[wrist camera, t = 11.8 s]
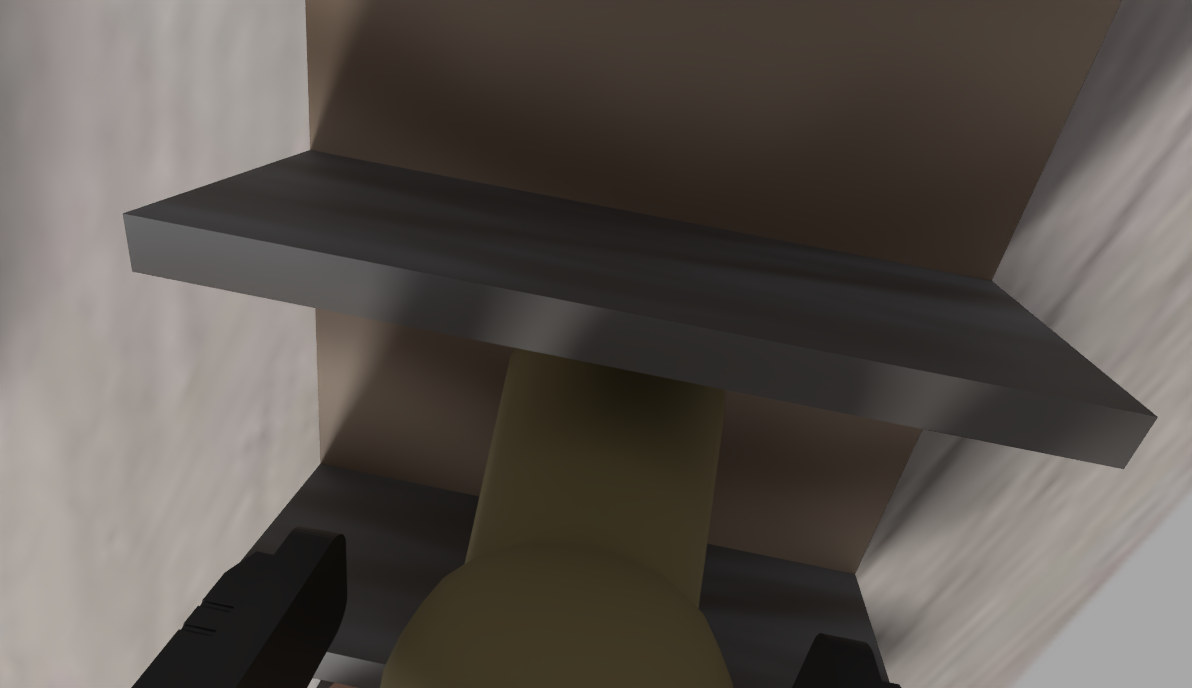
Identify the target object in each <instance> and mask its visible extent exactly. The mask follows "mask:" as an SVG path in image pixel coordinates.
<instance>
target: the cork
mask: <svg viewBox="0 0 1192 688" xmlns="http://www.w3.org/2000/svg"><path fill="white" fill-rule="evenodd" d="M724 414H725V390H724V389H719V388H714V387H709V386H704V385H699V384H694V383H689V382H684V381H679V380H674V379H669V378H664V377H659V376H654V375H649V374H644V373H639V372H634V371H629V370H624V369H619V368H614V367H609V366H604V365H599V364H594V363H589V362H584V361H579V360H574V359H569V358H564V357H559V356H554V355H549V354H544V353H539V352H534V351H529V350H524V349H519V348H515V349H514V350H513V352H512V354H511V355H510V360H509V364H508V369H507V374H506V378H505V383H504V387H503V392H502V396H501V401H500V405H499V410H498V415H497V419H496V424H495V428H494V433H493V437H492V442H491V446H490V451H489V455H488V460H487V465H486V469H485V474H484V478H483V483H482V487H481V492H480V496H479V501H478V506H477V510H476V515H475V519H474V524H473V528H472V533H471V537H470V542H469V546H468V551H467V556H466V560H465V564H464V565H462V566H461V567H459V568H458V569H456V570H455V571H453V572H451V573H450V574H448V575H447V576H445V577H444V578H443V579H442V580H441V581H440V582H439V583H438V585H437V586H436V587H435V588H434V589H433V591H432V592H431V593H430V594H429V595H428V596H427V598H426V599H425V600H424V601H423V602H422V604H421V605H420V606H419V608H418V609H417V611H416V612H415V614H414V615H413V617H412V618H411V619H410V621H409V622H408V624H407V625H406V627H405V628H404V630H403V631H402V633H401V634H400V636H399V638H398V640H397V642H396V644H395V646H394V648H393V650H392V652H391V655H390V657H389V659H388V661H387V663H386V665H385V667H384V669H383V675H382V680H381V686H380V688H733V682H732V680H731V677H730V674H729V672H728V669H727V666H726V664H725V661H724V658H723V655H722V653H721V650H720V648H719V646H718V643H717V641H716V639H715V637H714V635H713V633H712V631H711V629H710V626H709V624H708V622H707V620H706V618H705V616H704V614H703V613H702V612H701V611H700V610H699V609H698V608H699V601H700V593H701V586H702V578H703V571H704V564H705V556H706V549H707V541H708V534H709V526H710V519H711V511H712V504H713V496H714V489H715V481H716V474H717V466H718V459H719V451H720V444H721V436H722V429H723V421H724Z"/></svg>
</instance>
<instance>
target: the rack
mask: <svg viewBox="0 0 1192 688" xmlns="http://www.w3.org/2000/svg"><path fill="white" fill-rule="evenodd" d="M1121 1H1122V0H305V3H306V33H307V64H308V94H309V125H310V150H309V151H306V152H303V153H300V154H297V155H294V156H291V157H288V158H285V159H282V160H279V161H276V162H274V163H271V164H268V165H265V166H262V167H259V168H256V169H253V170H250V171H247V172H244V173H241V174H238V175H235V176H232V177H229V178H226V179H223V180H220V181H217V182H214V183H212V184H209V185H206V186H203V187H200V188H197V189H194V190H191V191H188V192H185V193H182V194H179V195H176V196H173V197H170V198H167V199H164V200H161V201H158V202H155V203H152V204H150V205H147V206H144V207H141V208H138V209H135V210H132V211H129V212H126V213H123V218H124V224H125V230H126V236H127V242H128V248H129V254H130V260H131V266H132V272H137V273H142V274H147V275H152V276H157V277H162V278H167V279H173V280H178V281H183V282H188V283H193V284H198V285H203V286H208V287H213V288H218V289H223V290H228V291H233V292H238V293H243V294H248V295H253V296H258V297H263V298H268V299H273V300H278V301H283V302H288V303H293V304H298V305H303V306H308V307H313V308H316V339H317V369H318V400H319V430H320V461H321V464H320V465H319V466H318V467H317V469H316V470H315V471H314V472H313V474H312V475H311V476H310V477H309V478H308V480H307V481H306V482H305V483H304V485H303V486H302V487H301V488H300V489H299V491H298V492H297V493H296V494H295V496H294V497H293V498H292V499H291V500H290V502H289V503H288V504H287V505H286V507H285V508H284V509H283V510H282V511H281V513H280V514H279V515H278V516H277V518H276V519H275V520H274V521H273V523H272V524H271V525H270V526H269V527H268V529H267V530H266V531H265V532H264V534H263V535H262V536H261V537H260V538H259V540H258V541H257V542H256V543H255V545H254V546H253V547H252V548H251V549H250V551H249V552H248V553H247V554H246V556H245V557H244V558H243V559H242V560H241V561H243V560H244V559H246V558H247V557H249V556H250V555H252V554H253V553H255V552H256V551H258V552H263V553H268V554H273V555H274V554H275V552H276V551H277V549H278V548H279V547H280V545H281V544H282V543H283V541H284V540H285V539H286V537H287V536H288V535H289V534H290V532H291V531H292V530H293V529H294V528H296V527H297V526H305V527H310V528H315V529H320V530H325V531H330V532H335V533H340V534H343V535H344V536H345V539H346V561H347V604H346V609H345V613H344V616H343V619H342V622H341V625H340V628H339V630H338V632H337V634H336V636H335V638H334V640H333V642H332V643H331V645H330V647H329V649H328V651H327V652H326V654H325V656H324V658H323V660H322V661H321V663H320V665H319V667H318V669H317V671H316V672H315V674H314V676H313V678H315V679H320V680H321V681H320V683H319V684H318V686H317V688H380V686H381V680H382V675H383V669H384V667H385V665H386V663H387V661H388V659H389V657H390V655H391V652H392V650H393V648H394V646H395V644H396V642H397V640H398V638H399V636H400V634H401V633H402V631H403V630H404V628H405V627H406V625H407V624H408V622H409V621H410V619H411V618H412V617H413V615H414V614H415V612H416V611H417V609H418V608H419V606H420V605H421V604H422V602H423V601H424V600H425V599H426V598H427V596H428V595H429V594H430V593H431V592H432V591H433V589H434V588H435V587H436V586H437V585H438V583H439V582H440V581H441V580H442V579H443V578H444V577H445V576H447V575H448V574H450V573H451V572H453V571H455V570H456V569H458V568H459V567H461V566H462V565H464V564H465V560H466V556H467V551H468V546H469V542H470V537H471V533H472V528H473V524H474V519H475V515H476V510H477V506H478V501H479V496H480V492H481V487H482V483H483V478H484V474H485V469H486V465H487V460H488V455H489V451H490V446H491V442H492V437H493V433H494V428H495V424H496V419H497V415H498V410H499V405H500V401H501V396H502V392H503V387H504V383H505V378H506V374H507V369H508V364H509V360H510V355H511V354H512V352H513V350H514V349H515V348H519V349H524V350H529V351H534V352H539V353H544V354H549V355H554V356H559V357H564V358H569V359H574V360H579V361H584V362H589V363H594V364H599V365H604V366H609V367H614V368H619V369H624V370H629V371H634V372H639V373H644V374H649V375H654V376H659V377H664V378H669V379H674V380H679V381H684V382H689V383H694V384H699V385H704V386H709V387H714V388H719V389H724V390H725V414H724V421H723V429H722V436H721V444H720V451H719V459H718V466H717V474H716V481H715V489H714V496H713V504H712V511H711V519H710V526H709V534H708V541H707V549H706V556H705V564H704V571H703V578H702V586H701V593H700V601H699V608H698V609H699V610H700V611H701V612H702V613H703V614H704V616H705V618H706V620H707V622H708V624H709V626H710V629H711V631H712V633H713V635H714V637H715V639H716V641H717V643H718V646H719V648H720V650H721V653H722V655H723V658H724V661H725V664H726V666H727V669H728V672H729V674H730V677H731V680H732V682H733V688H792V686H793V684H794V682H795V680H796V678H797V676H798V673H799V671H800V669H801V667H802V665H803V662H804V660H805V658H806V656H807V654H808V652H809V649H810V647H811V645H812V643H813V641H814V639H815V637H816V636H817V635H818V634H819V633H824V634H828V635H833V636H838V637H843V638H848V639H853V640H858V641H863V642H866V643H868V644H869V646H870V647H871V649H872V651H873V654H874V657H875V660H876V663H877V667H878V670H879V673H880V676H881V680H882V681H884V682H889V679H888V676H887V673H886V670H885V667H884V663H883V660H882V657H881V654H880V651H879V648H878V645H877V641H876V638H875V635H874V632H873V629H872V626H871V623H870V620H869V616H868V613H867V610H866V607H865V604H864V601H863V598H862V595H861V591H860V588H859V585H858V582H857V579H856V576H855V573H856V571H857V569H858V567H859V564H860V562H861V560H862V558H863V556H864V554H865V552H866V549H867V547H868V545H869V543H870V541H871V539H872V536H873V534H874V532H875V530H876V528H877V526H878V524H879V521H880V519H881V517H882V515H883V513H884V511H885V509H886V506H887V504H888V502H889V500H890V498H891V496H892V493H893V491H894V489H895V487H896V485H897V483H898V481H899V478H900V476H901V474H902V472H903V470H904V468H905V466H906V463H907V461H908V459H909V457H910V455H911V453H912V450H913V448H914V446H915V444H916V442H917V440H918V438H919V435H920V433H921V431H922V429H925V430H930V431H935V432H940V433H945V434H950V435H955V436H960V437H965V438H970V439H975V440H980V441H985V442H990V443H995V444H1000V445H1005V446H1010V447H1015V448H1020V449H1025V450H1030V451H1035V452H1041V453H1046V454H1051V455H1056V456H1061V457H1066V458H1071V459H1076V460H1081V461H1086V462H1091V463H1096V464H1101V465H1106V466H1111V467H1116V468H1121V469H1124V468H1125V466H1126V465H1127V463H1128V462H1129V460H1130V459H1131V457H1132V456H1133V454H1134V453H1135V451H1136V450H1137V448H1138V447H1139V445H1140V444H1141V442H1142V440H1143V439H1144V437H1145V436H1146V434H1147V433H1148V431H1149V430H1150V428H1151V427H1152V425H1153V424H1154V422H1155V421H1156V419H1157V416H1156V415H1155V414H1153V413H1152V412H1151V411H1150V410H1149V409H1147V408H1146V407H1145V406H1144V405H1142V404H1141V403H1140V402H1139V401H1138V400H1136V399H1135V398H1134V397H1133V396H1131V395H1130V394H1129V393H1128V392H1127V391H1125V390H1124V389H1123V388H1122V387H1120V386H1119V385H1118V384H1117V383H1116V382H1114V381H1113V380H1112V379H1111V378H1109V377H1108V376H1107V375H1106V374H1105V373H1103V372H1102V371H1101V370H1100V369H1099V368H1097V367H1096V366H1095V365H1094V364H1092V363H1091V362H1090V361H1089V360H1088V359H1086V358H1085V357H1084V356H1083V355H1081V354H1080V353H1079V352H1078V351H1077V350H1075V349H1074V348H1073V347H1072V346H1070V345H1069V344H1068V343H1067V342H1066V341H1064V340H1063V339H1062V338H1061V337H1059V336H1058V335H1057V334H1056V333H1055V332H1053V331H1052V330H1051V329H1050V328H1049V327H1047V326H1046V325H1045V324H1044V323H1042V322H1041V321H1040V320H1039V319H1038V318H1036V317H1035V316H1034V315H1033V314H1031V313H1030V312H1029V311H1028V310H1027V309H1025V308H1024V307H1023V306H1022V305H1020V304H1019V303H1018V302H1017V301H1016V300H1014V299H1013V298H1012V297H1011V296H1009V295H1008V294H1007V293H1006V292H1005V291H1003V290H1002V289H1001V288H1000V287H999V286H997V285H996V284H995V283H994V282H992V278H993V276H994V274H995V272H996V270H997V268H998V266H999V263H1000V261H1001V259H1002V257H1003V255H1004V253H1005V251H1006V248H1007V246H1008V244H1009V242H1010V240H1011V238H1012V235H1013V233H1014V231H1015V229H1016V227H1017V225H1018V223H1019V220H1020V218H1021V216H1022V214H1023V212H1024V210H1025V208H1026V205H1027V203H1028V201H1029V199H1030V197H1031V195H1032V192H1033V190H1034V188H1035V186H1036V184H1037V182H1038V180H1039V177H1040V175H1041V173H1042V171H1043V169H1044V167H1045V165H1046V162H1047V160H1048V158H1049V156H1050V154H1051V152H1052V149H1053V147H1054V145H1055V143H1056V141H1057V139H1058V137H1059V134H1060V132H1061V130H1062V128H1063V126H1064V124H1065V122H1066V119H1067V117H1068V115H1069V113H1070V111H1071V109H1072V106H1073V104H1074V102H1075V100H1076V98H1077V96H1078V94H1079V91H1080V89H1081V87H1082V85H1083V83H1084V81H1085V79H1086V76H1087V74H1088V72H1089V70H1090V68H1091V66H1092V63H1093V61H1094V59H1095V57H1096V55H1097V53H1098V51H1099V48H1100V46H1101V44H1102V42H1103V40H1104V38H1105V36H1106V33H1107V31H1108V29H1109V27H1110V25H1111V23H1112V20H1113V18H1114V16H1115V14H1116V12H1117V10H1118V8H1119V5H1120V3H1121ZM889 683H890V682H889Z"/></svg>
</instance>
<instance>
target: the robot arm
mask: <svg viewBox="0 0 1192 688" xmlns="http://www.w3.org/2000/svg"><path fill="white" fill-rule="evenodd" d="M346 604H347V561H346V539H345V536H344V535H343V534H340V533H335V532H330V531H325V530H320V529H315V528H310V527H305V526H297V527H296V528H294V529H293V530H292V531H291V532H290V534H289V535H288V536H287V537H286V539H285V540H284V541H283V543H282V544H281V545H280V547H279V548H278V549H277V551H276V552H275V554H274V555H273V554H268V553H263V552H258V551H256V552H255V553H253V554H252V555H250V556H249V557H247V558H246V559H244V560H243V561H241V562H240V563H238V564H237V565H235V566H234V567H232V568H231V569H229V570H228V571H226V572H225V573H224V574H223V576H222V577H221V578H220V579H219V580H218V582H217V583H216V584H215V585H214V587H213V588H212V589H211V590H210V592H209V593H208V594H207V595H206V597H205V598H204V599H203V600H202V604H201V606H197V608H196V609H195V610H194V611H193V613H192V614H191V615H190V616H189V617H188V619H187V620H186V621H185V622H184V625H183V628H182V629H181V630H178V631H177V632H176V633H175V635H174V636H173V637H172V638H171V640H170V641H169V642H168V643H167V645H166V646H165V647H164V648H163V649H162V651H161V652H160V653H159V654H158V656H157V657H156V658H155V659H154V661H153V662H152V663H151V664H150V666H149V667H148V668H147V669H146V670H145V672H144V673H143V674H142V675H141V677H140V678H139V679H138V680H137V682H136V683H135V684H134V685H133V686H132V688H307V687H308V685H309V683H310V681H311V680H312V678H313V676H314V674H315V672H316V671H317V669H318V667H319V665H320V663H321V661H322V660H323V658H324V656H325V654H326V652H327V651H328V649H329V647H330V645H331V643H332V642H333V640H334V638H335V636H336V634H337V632H338V630H339V628H340V625H341V622H342V619H343V616H344V613H345V609H346ZM792 688H901V687H900V685H899V684H894V683H889V682H884V681H882V680H881V676H880V673H879V670H878V667H877V663H876V660H875V657H874V654H873V651H872V649H871V647H870V646H869V644H868V643H866V642H863V641H858V640H853V639H848V638H843V637H838V636H833V635H828V634H824V633H819V634H818V635H817V636H816V637H815V639H814V641H813V643H812V645H811V647H810V649H809V652H808V654H807V656H806V658H805V660H804V662H803V665H802V667H801V669H800V671H799V673H798V676H797V678H796V680H795V682H794V684H793V686H792Z"/></svg>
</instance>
